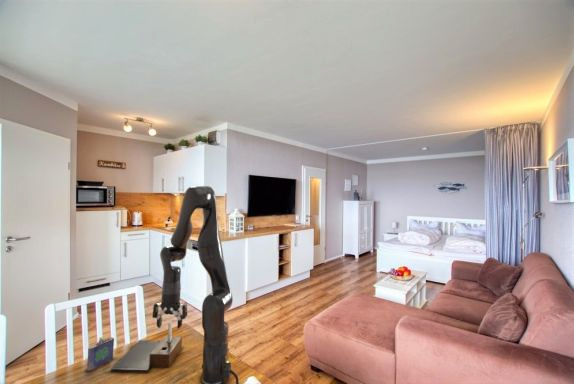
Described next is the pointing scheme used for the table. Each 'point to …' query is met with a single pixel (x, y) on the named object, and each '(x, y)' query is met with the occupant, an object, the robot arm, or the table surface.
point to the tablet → (137, 358)
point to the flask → (100, 353)
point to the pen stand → (165, 352)
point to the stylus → (169, 332)
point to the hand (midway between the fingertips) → (169, 327)
